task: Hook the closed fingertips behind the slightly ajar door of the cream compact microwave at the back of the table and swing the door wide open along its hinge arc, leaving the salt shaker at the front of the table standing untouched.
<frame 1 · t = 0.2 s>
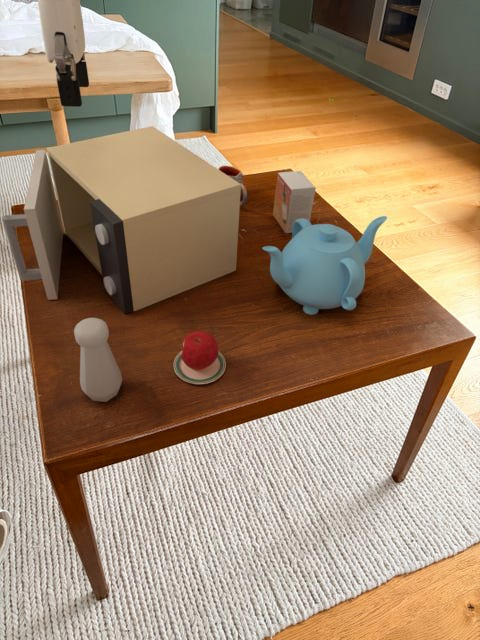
hand: (76, 95, 83), 28 cm above the table, tool pointing down, fingers open, 9 cm apart
teapot: (314, 294, 92), on the table
mug: (232, 202, 116), on the table
salt shaker: (103, 392, 72), on the table
apple: (199, 367, 77), on the table
microwave: (147, 251, 99), on the table
microwave door: (34, 223, 88), point 9 cm above the table, hinge at 25.0°
small box: (290, 224, 110), on the table
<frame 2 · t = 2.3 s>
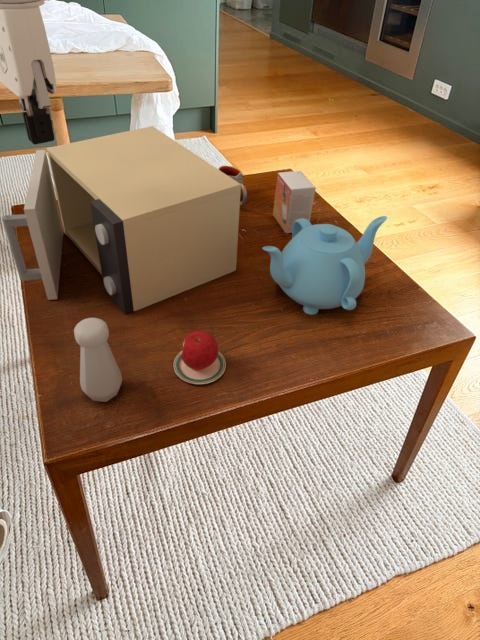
hand: (41, 140, 71), 27 cm above the table, tool pointing down, fingers closed
nothing on the table moved.
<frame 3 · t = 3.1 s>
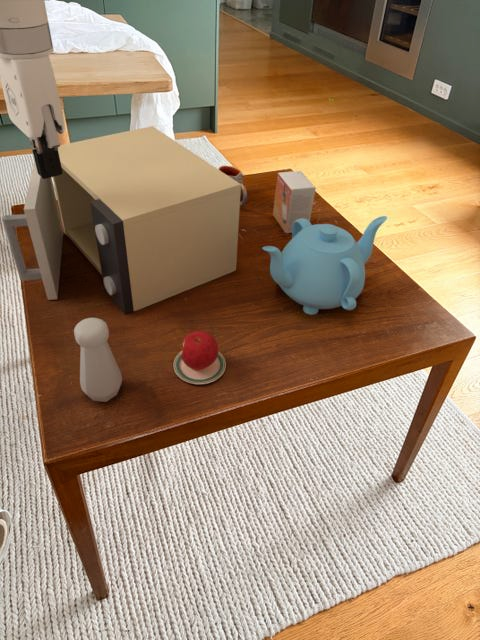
hand: (50, 174, 75), 22 cm above the table, tool pointing down, fingers closed
nothing on the table moved.
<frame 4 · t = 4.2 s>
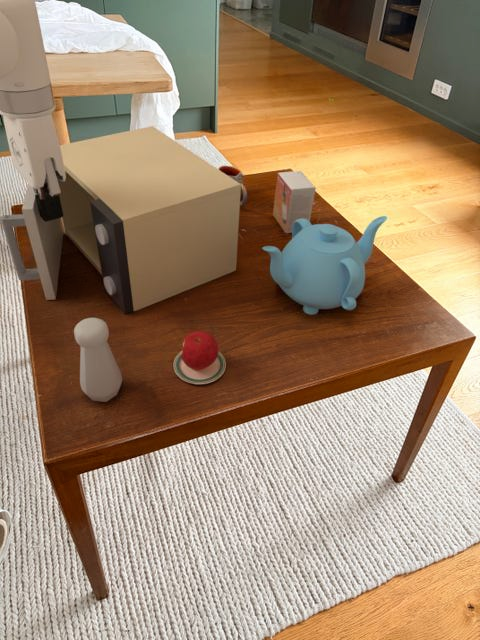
hand: (52, 217, 79), 15 cm above the table, tool pointing down, fingers closed
microwave door: (33, 223, 88), point 9 cm above the table, hinge at 25.8°, touching gripper
everything else where it was.
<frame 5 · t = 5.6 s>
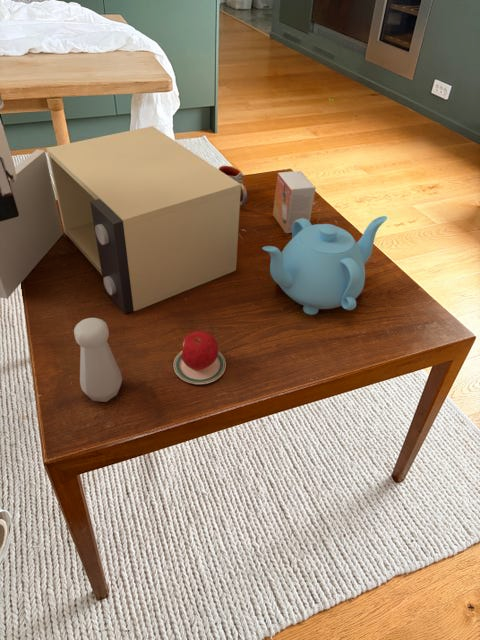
hand: (7, 216, 78), 15 cm above the table, tool pointing down, fingers closed
microwave door: (11, 220, 88), point 9 cm above the table, hinge at 47.6°, touching gripper
everything else where it was.
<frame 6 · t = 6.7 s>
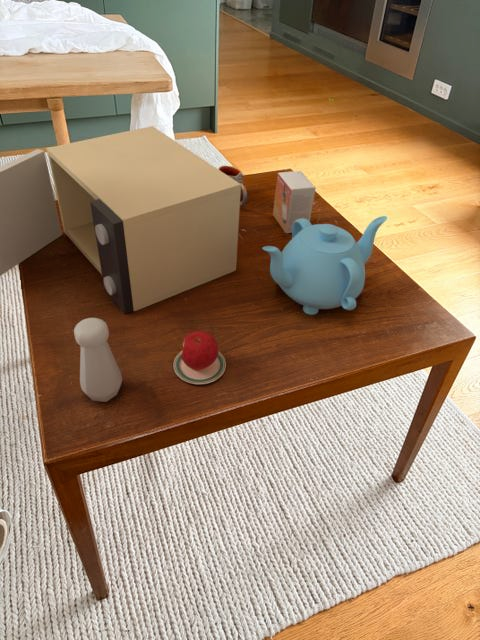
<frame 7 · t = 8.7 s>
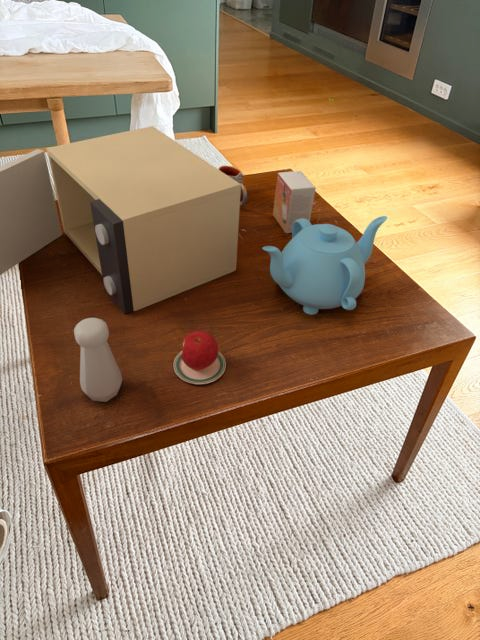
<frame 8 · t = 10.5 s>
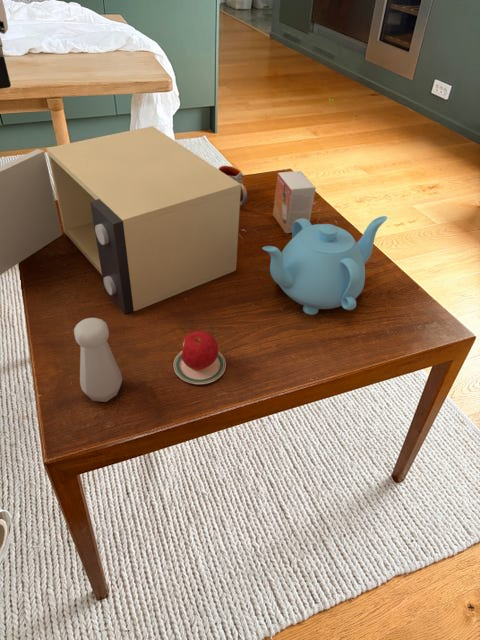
at the end: microwave door at +64° (first picture: +25°); salt shaker tilted 0°; salt shaker moved 0.2 cm from its start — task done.
